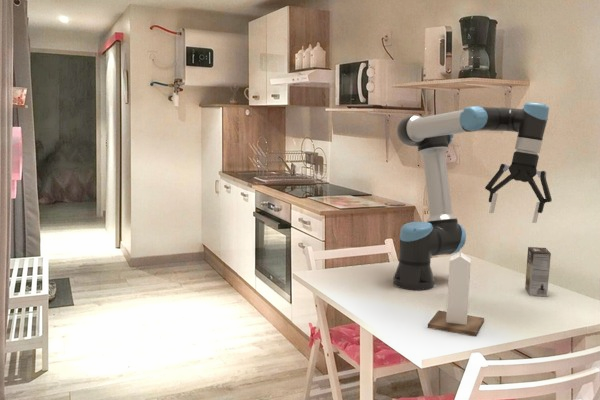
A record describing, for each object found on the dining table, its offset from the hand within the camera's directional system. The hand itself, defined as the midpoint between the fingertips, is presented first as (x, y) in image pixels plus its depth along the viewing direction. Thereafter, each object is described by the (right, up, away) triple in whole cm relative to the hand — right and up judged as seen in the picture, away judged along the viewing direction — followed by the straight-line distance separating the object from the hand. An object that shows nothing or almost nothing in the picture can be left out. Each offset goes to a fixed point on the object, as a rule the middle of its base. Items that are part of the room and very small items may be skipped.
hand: (512, 217), depth 179 cm
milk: (-21, -31, -11) cm, 39 cm away
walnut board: (-21, -32, -11) cm, 40 cm away
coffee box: (+18, -28, +24) cm, 41 cm away
